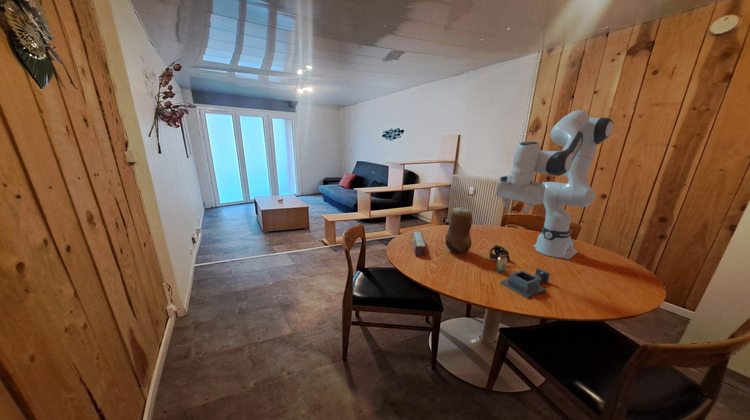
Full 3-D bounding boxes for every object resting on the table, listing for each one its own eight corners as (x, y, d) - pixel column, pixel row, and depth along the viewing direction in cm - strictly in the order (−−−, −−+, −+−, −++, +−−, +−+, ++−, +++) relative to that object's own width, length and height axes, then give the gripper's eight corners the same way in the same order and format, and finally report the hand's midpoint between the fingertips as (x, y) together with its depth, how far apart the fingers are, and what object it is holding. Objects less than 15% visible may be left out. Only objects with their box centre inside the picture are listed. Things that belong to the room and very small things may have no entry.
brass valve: (499, 268, 118) (502, 253, 116) (506, 272, 115) (509, 256, 113) (492, 270, 116) (495, 254, 114) (500, 274, 113) (502, 258, 111)
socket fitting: (528, 273, 114) (530, 264, 113) (556, 287, 104) (558, 276, 102) (500, 283, 106) (502, 272, 104) (527, 298, 95) (530, 287, 94)
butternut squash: (472, 250, 138) (478, 207, 131) (466, 259, 127) (473, 213, 120) (447, 245, 145) (452, 204, 138) (440, 253, 134) (445, 209, 127)
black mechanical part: (514, 264, 124) (510, 253, 120) (494, 270, 126) (490, 259, 123) (504, 249, 134) (501, 238, 131) (487, 255, 137) (483, 244, 133)
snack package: (426, 257, 129) (427, 245, 128) (413, 256, 130) (414, 244, 128) (421, 241, 150) (422, 231, 148) (411, 241, 150) (411, 230, 148)
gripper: (550, 183, 100) (543, 215, 103) (505, 176, 117) (500, 204, 121) (541, 183, 97) (534, 217, 100) (496, 176, 114) (491, 205, 118)
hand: (515, 210), depth 111 cm, fingers open, 8 cm apart
